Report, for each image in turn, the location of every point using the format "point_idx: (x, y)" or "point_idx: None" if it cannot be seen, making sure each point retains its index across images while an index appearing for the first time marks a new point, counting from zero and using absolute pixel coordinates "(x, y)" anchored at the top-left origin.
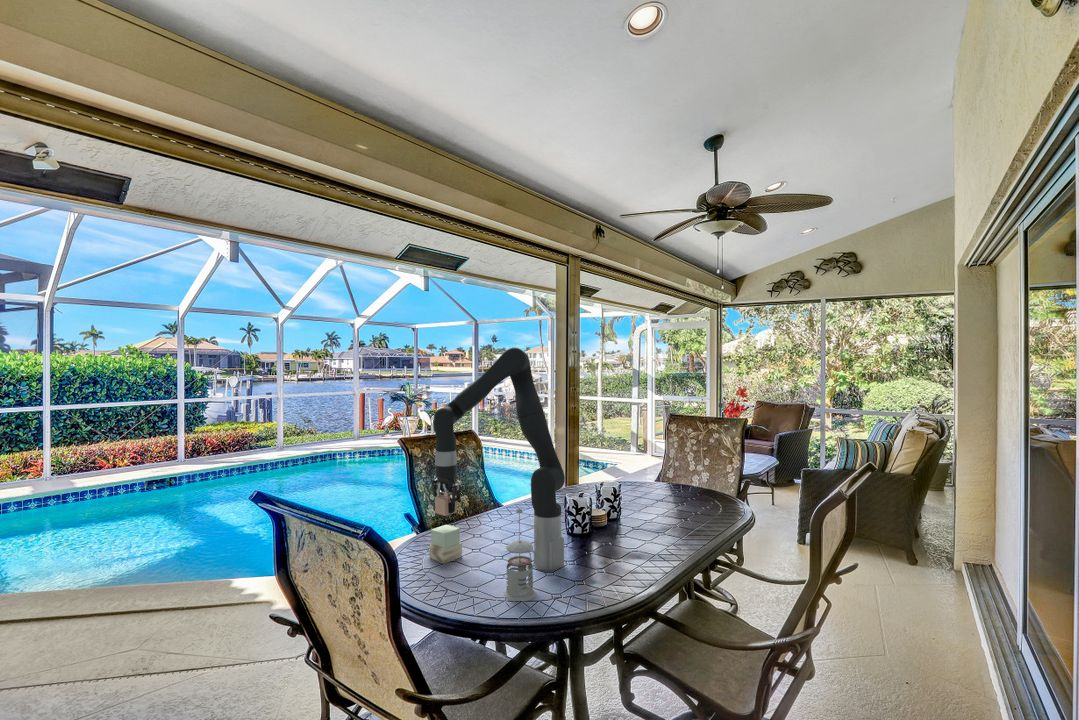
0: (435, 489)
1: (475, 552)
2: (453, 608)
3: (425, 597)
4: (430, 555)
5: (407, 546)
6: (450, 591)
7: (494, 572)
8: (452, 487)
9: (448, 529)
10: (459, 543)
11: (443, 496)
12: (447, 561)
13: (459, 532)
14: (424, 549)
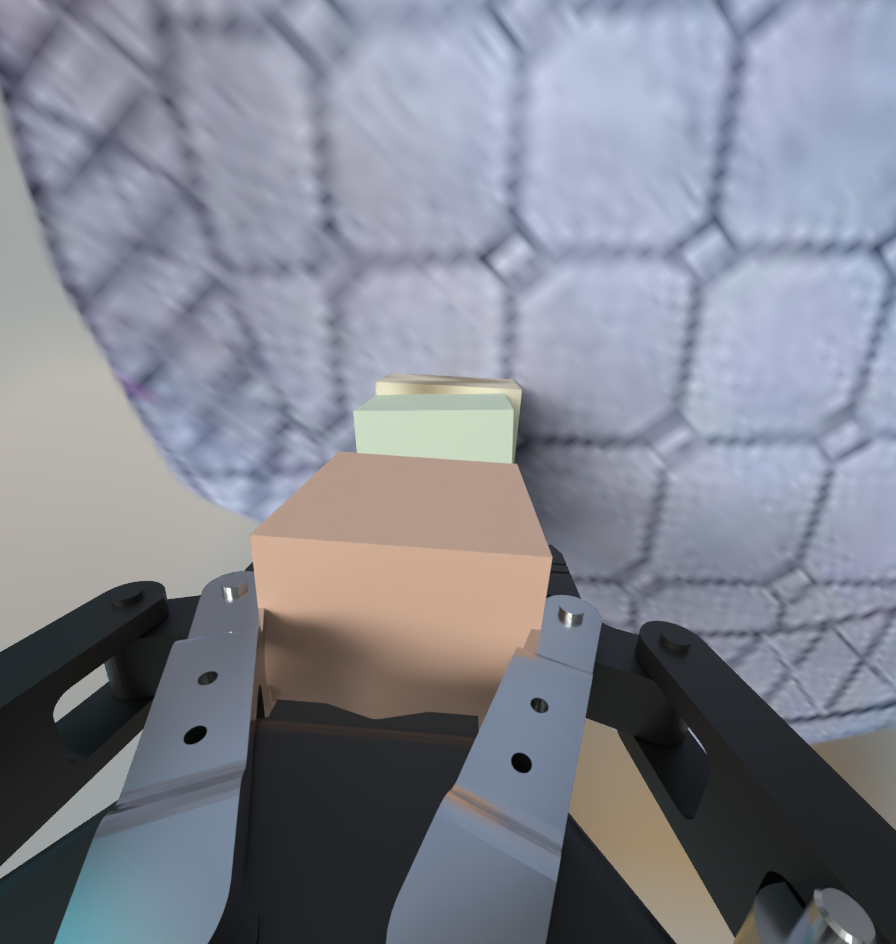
0: (75, 775)
1: (533, 286)
2: (808, 705)
3: None
4: None
5: (184, 461)
6: (719, 640)
7: (792, 420)
8: (611, 918)
9: None
10: (517, 407)
11: (335, 671)
12: None
13: (509, 405)
14: (281, 435)
